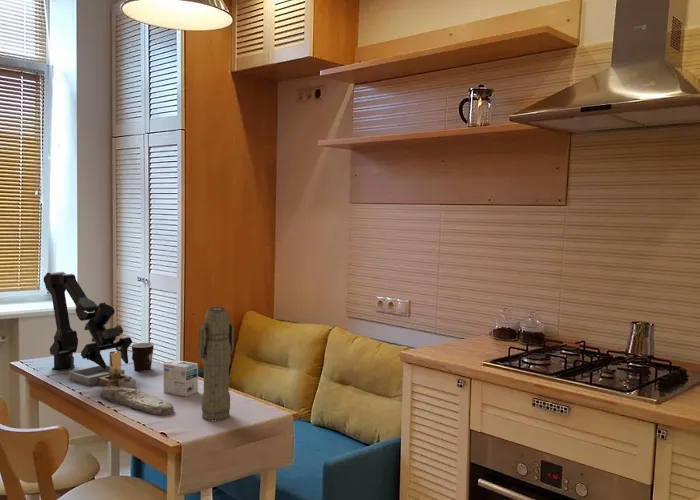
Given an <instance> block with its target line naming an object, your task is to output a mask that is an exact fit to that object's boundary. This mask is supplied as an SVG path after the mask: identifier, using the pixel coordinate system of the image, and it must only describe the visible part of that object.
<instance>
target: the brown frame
mask: <svg viewBox="0 0 700 500" xmlns="http://www.w3.org/2000/svg"><path fill="white" fill-rule="evenodd" d="M98 385H100V386H102V387H107V386H116V387H125V388H128V387H129V388H132V389H136V388H137V380H136V379H135V378H133V376H129V375H126V374H124V375H123V374H121V379H118V380H114V381H113V380H110V375H108V376H104V377H100V378H99V384H98Z"/></svg>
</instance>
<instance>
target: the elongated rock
mask: <svg viewBox="0 0 700 500" xmlns="http://www.w3.org/2000/svg"><path fill="white" fill-rule="evenodd" d="M100 396H101V397H103V398H104V399H106V400H107V401H110V402H112V403H114V404H119V405H122V406H128V407H131V408H133V409H137V410H139V411H143V412H145V413H148V414H151V415H159V416H167V415H168V414H169V415H171V414H173V413H174V412H175V408H174V406H173V404H172V403H171V402H169V401H167V400H164V399H161V398H158V397H155V396H152V395H149V394H147V393H144V392H143V391H141V390H140V389H136V388H134V389H132V388H129V387H128V388H125V387H116V386H107V387H105V386H102V388H100Z"/></svg>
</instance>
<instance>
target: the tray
mask: <svg viewBox="0 0 700 500" xmlns="http://www.w3.org/2000/svg"><path fill="white" fill-rule="evenodd" d="M106 366H107V368H106V369H104V368H103V367H101V366H100V365H94V366H90V367H85V368H80V369H76V370H71V371H68V379H69V380H70V381H72V382H76V383H78V384H82V385H85V386H87V387H90V386H96V385H99V378H100V377H104V376H108V375H110V364H109V365H108V364H106ZM121 374H123V375H125V369H123V368H121Z"/></svg>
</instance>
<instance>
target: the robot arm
mask: <svg viewBox="0 0 700 500" xmlns="http://www.w3.org/2000/svg"><path fill="white" fill-rule="evenodd" d="M76 278H77V277H76V275H75V273H65V271H54V272H50V271H49V272H47V273H45V275H44V276H43V283H44V286H45V289H46V290H47V291H48V293H49V294H50V295H51V300H52V306H53V313H54V317H55V325H56V332H55V334H54V335H53V343H52V345H51V346H50V347H49V355H51V356H53V367H52V368H51V370H54V371H55V370H56V371H68V370H71V369H72V368H75V367H76V365H75V363H74V362H75V357H74V356H73V354H74V353H77V350H78V345H79V338H78V333H77V330H73V329H72V328H71V323H70V322H71V321H70V317H69V316H70V315H69V312H68V311H69V310H68V306H67V305H68V304H67V299H66V298H67V297H66V292H67V294H68V295H69V297H70V299H71V300H72V302H73V303H74V304H75V315H76V316H77V318H78V319H79V320H80V321H82V322H84V321H87V322H86V323H85V326H84V331H88V332H89V333H90V335H91V337H92V338H91V343H87V344H85V345H84V347H83V349H82V350H81V352H80V356H81V357H82V359H84V360H85V359H86V360H87V361H90V362H91V361H92V362H93V363H95V364H96V365H97V366H99V365H100V366H101V367H103V368H104V369H106V368H107V366H106V365H107V364H106V362H105V360H104V358H103V356H102V354H101V351H107V350H108V351H109V350H112V349H116V350H115V351H120V352H121V361H123V362H124V363H125V364H126V365H128V363H129V354H128V349H129V347H130V346H131V345H132V343H133V340H132V338H131V336H130V337H129V336H125V337H121V338H119V339H118V341H117V342H115V341H116V340H117V337H120V336H121V335H122V334H123V333H124V330H123V329H124V328H123V327H122V326H121V325H116V326H114V327H111V328H107V327H106V326H105V325H107V324H108V323H109V322H110V320H111V319H112V317H113V315H115V312H116V311H115V309H114V307H113V306H111V305H109V304H107V303H106V302H105V301H104V302H99V304H98V305H97V304H96V302H95V301H94V300H91V299H89V298H88V296H87V295H86V293H85V291H84V290H83V288H82V287H81V285H80V284H79V282H78V280H77V279H76Z"/></svg>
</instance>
